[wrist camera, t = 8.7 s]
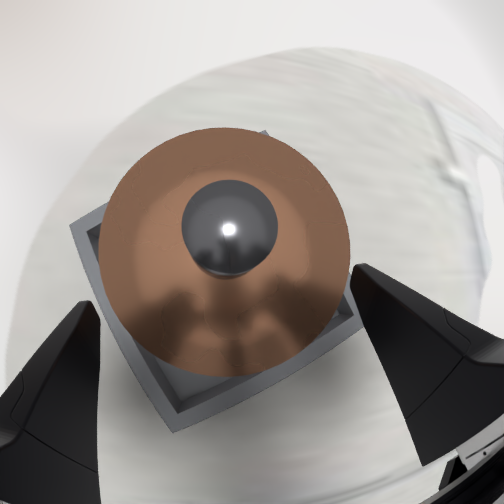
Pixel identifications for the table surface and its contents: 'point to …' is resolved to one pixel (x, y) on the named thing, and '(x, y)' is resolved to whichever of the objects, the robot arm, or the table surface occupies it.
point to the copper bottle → (224, 252)
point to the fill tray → (187, 383)
